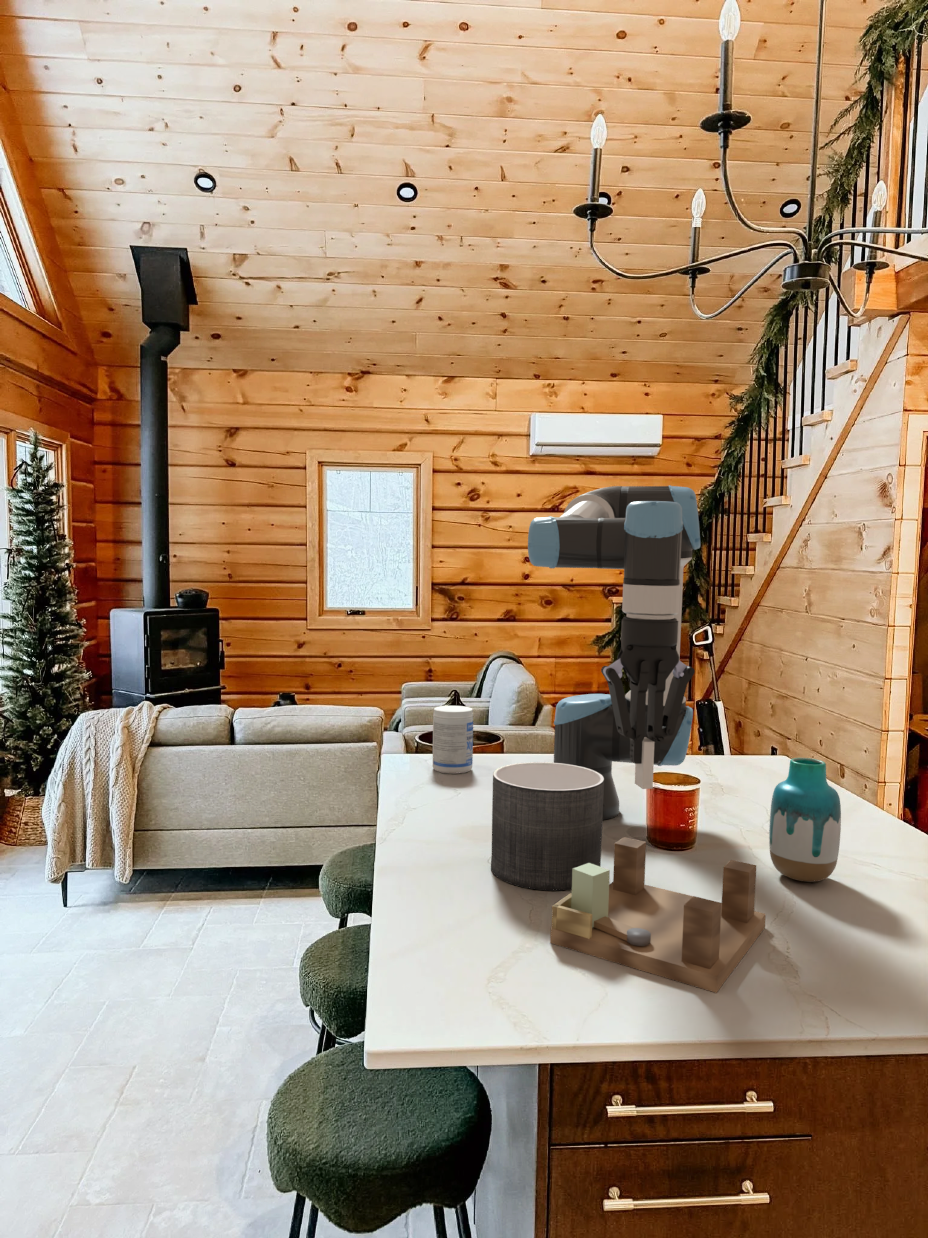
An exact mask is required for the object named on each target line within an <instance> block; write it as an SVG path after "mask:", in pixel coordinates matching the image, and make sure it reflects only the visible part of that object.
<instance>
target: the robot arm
mask: <svg viewBox="0 0 928 1238" xmlns="http://www.w3.org/2000/svg"><path fill="white" fill-rule="evenodd" d="M696 495H697V494H696V492H695V491H694V490H693V489H692V488H690V487H687V486H678V485H675V486H674V485H661V486H660V485H654V486H653V485H652V486H651V485H650V486H648V485H647V486H645V485H639V486H638V485H637V486H635V485H634V486H633V485H632V486H629V485H628V486H625V485H624V486H622V485H614V486H605V487H601V488H597V489H594V490H591V491H588V492H585V493H583V494H580V495H578V496H576V497H575V498H573V499H572V500H571V501H570V502H569V503H568V504H567V506H566V507H565V508H564V511H563V514H562V515H560V516H559V517H554V516H551V515H548V516H545V517H535V518H533V519H532V520H531V521H530V524H529V528H528V536H527V554H528V559H529V562H530V563H531V565H533V566H535V567H540V568H549V569H556V568H557V569H559V568H561V569H562V568H563V569H564V568H566V569H568V568H569V569H571V568H573V569H599V570H600V569H606V570H607V569H608V570H609V569H610V570H623V578H622V581H623V583H622V605H621V607H622V608H621V611H622V612H623V613H624V614H626V616H623V618H622V619H621V631H620V632H621V633H620V636H621V637H620V643H621V645H620V646H621V647H620V651H619V652H618V654H617V659H616V660H615V661H614V662H613V663H611V664H610V665H608V666H607V665H603V666H602V667H601V668H600V673H602V675H603V677H604V679H605V680H606V682H607V685H608V686H607V687H608V690H609V693H607V694H605V693H588V694H587V693H586V694H580V695H572V696H568V697H565V698H561V700H559V701H558V703H557V704H556V706H555V714H554V722H553V725H554V741H553V743H554V745H553V763H561V764H569V765H575V766H580V767H584V768H588V769H591V770H594V771H596V772H598V773H600V774H601V775H602V776H603V777H604V794H603V818H602V821H603V820H609V819H613V818H614V817H617V816H618V815H619V814H620V799H619V796H618V792H617V789H616V786H615V785H616V784H615V782H614V778H613V774H612V773H613V772H612V769H613V762H617V763H628V764H635V766H634V767H635V769H634V770H635V771H634V784H635V785H636V786H638V787H639V788H640V789H642V790H647V789H648V790H649V789H654V787H653V786H654V765H655V766H657V767H662V766H680V765H681V764H683V763H684V761H685V759H686V756H687V753H688V749H689V743H690V740H691V739H690V737H691V732H692V724H693V716H694V709H693V708H692V707H690V706H689V705H686V704H687V698H686V696H685V694H686V692H687V691H686V690H687V688H688V687H687V686H688V684H689V682H690V681H691V679H692V678H693V676H694V674H695V672H696V671H695V669H694V668H693V667H691V666H689V665H686V664H685V663H683V662H682V661H681V660H680V658H681V657H680V654H681V637H682V636H681V635H682V634H681V633H682V631H681V630H682V613H683V610H682V608H683V591H684V590H683V588H684V587H683V584H684V568H685V566H686V565H687V564H688V563H689V562H690V561H691V560H693V550H695V551H696V550H698V549H700V548H701V545H702V544H701V534H700V532H701V531H700V521H699V510H698V502H697V501H698V500H697V496H696ZM622 670H623V671H622ZM623 672H624V673H625V674H626V677H627V678H628V679H629V688H630V689H629V691H628V692H627V693H625V690H624V684H623V681H622V680H621V678H622V677H623Z"/></svg>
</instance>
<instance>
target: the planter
mask: <svg viewBox="0 0 928 1238" xmlns="http://www.w3.org/2000/svg"><path fill="white" fill-rule="evenodd" d="M603 794H604V777H603V776H602V775H601V774H600V773H598V772H596V771H594V770H591V769H588V768H584V767H580V766H575V765H569V764H561V763H554V762H549V761H548V762H546V761H544V762H543V761H541V762H540V761H539V762H538V761H537V762H536V761H534V762H531V761H530V762H521V763H519V762H517V763H511V764H507V765H503V766H501V767H498V768H497V769H495V770H494V771H493V772H492V805H491V806H492V809H491V815H492V816H491V857H490V858H491V860H490V870H491V872H492V874H493V875H495V877H497V878H498V879H500V880H502V881H504V882H506V883H508V884H509V885H510V884H511V885H514V886H517V887H521V888H525V889H529V890H538V891H568V890H572V869H573V868H576V867H579V866H581V865H584V864H587V863H591V864H594V865H597V866H600V867H602V866H601V859H602V838H603V836H602V835H603V820H602V818H603Z"/></svg>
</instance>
